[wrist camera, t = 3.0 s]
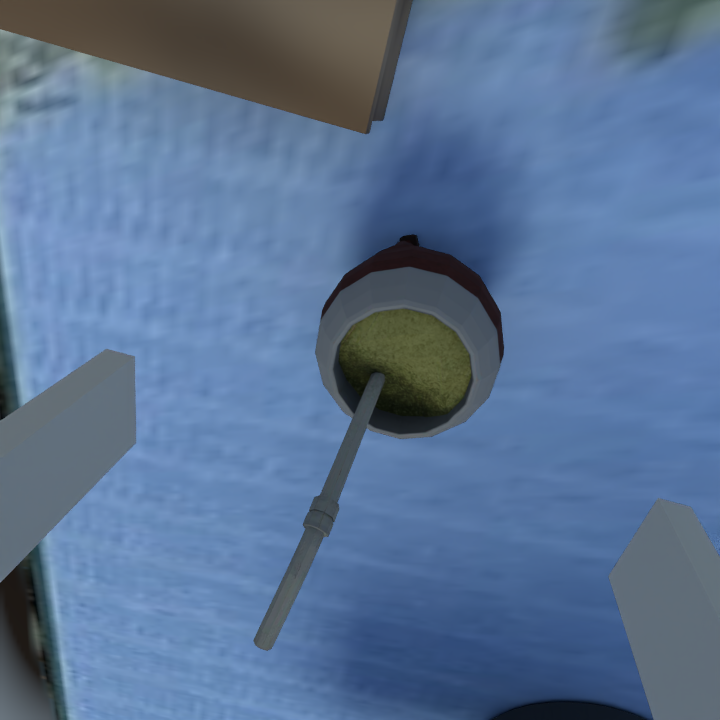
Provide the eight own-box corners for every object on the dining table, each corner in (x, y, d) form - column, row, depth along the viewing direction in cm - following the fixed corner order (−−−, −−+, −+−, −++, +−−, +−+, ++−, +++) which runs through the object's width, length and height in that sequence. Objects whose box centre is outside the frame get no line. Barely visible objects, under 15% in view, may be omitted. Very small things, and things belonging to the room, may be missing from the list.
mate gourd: (486, 212, 22) (527, 357, 9) (502, 374, 25) (549, 664, 12) (323, 240, 24) (149, 395, 10) (356, 387, 27) (254, 653, 14)
